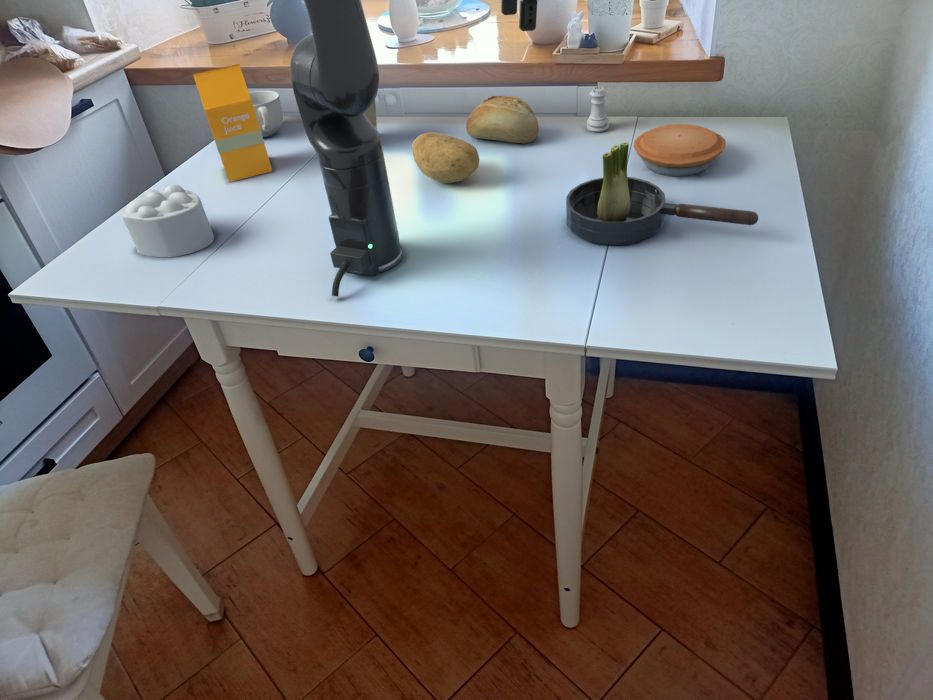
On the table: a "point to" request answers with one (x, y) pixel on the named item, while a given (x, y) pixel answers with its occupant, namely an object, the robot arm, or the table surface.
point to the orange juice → (233, 122)
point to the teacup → (267, 110)
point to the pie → (679, 149)
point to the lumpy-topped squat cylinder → (167, 222)
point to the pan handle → (711, 213)
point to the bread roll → (503, 120)
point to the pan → (633, 229)
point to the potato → (445, 157)
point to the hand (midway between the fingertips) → (517, 22)
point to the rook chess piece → (598, 111)
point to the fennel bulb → (615, 185)
